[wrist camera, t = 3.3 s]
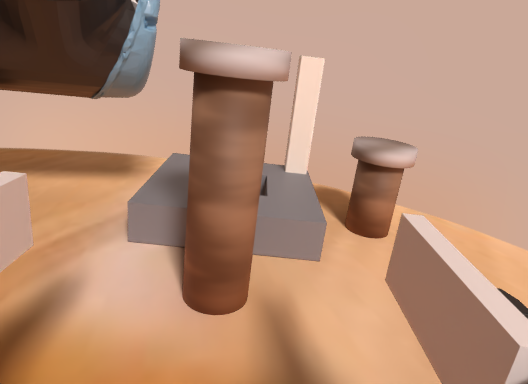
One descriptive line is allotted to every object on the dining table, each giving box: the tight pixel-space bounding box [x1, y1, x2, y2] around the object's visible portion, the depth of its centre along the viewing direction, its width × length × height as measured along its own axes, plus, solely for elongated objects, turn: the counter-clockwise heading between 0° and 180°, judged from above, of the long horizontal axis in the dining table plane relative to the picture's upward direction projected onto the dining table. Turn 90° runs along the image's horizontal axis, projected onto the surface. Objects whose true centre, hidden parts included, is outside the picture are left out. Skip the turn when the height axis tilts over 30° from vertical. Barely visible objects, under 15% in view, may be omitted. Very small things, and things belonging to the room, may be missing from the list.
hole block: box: [128, 56, 327, 261], centre depth 37 cm, size 16×16×16 cm
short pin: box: [345, 137, 418, 238], centre depth 38 cm, size 6×6×9 cm
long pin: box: [179, 38, 292, 315], centre depth 23 cm, size 6×6×16 cm
